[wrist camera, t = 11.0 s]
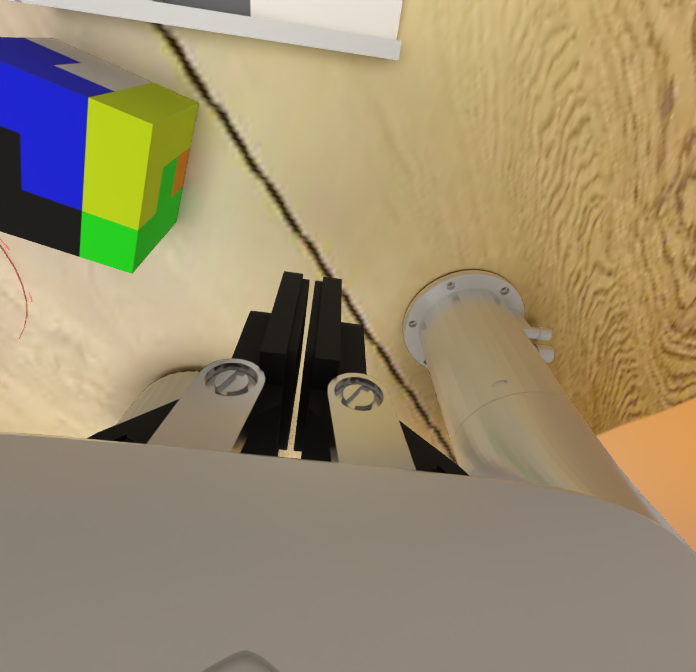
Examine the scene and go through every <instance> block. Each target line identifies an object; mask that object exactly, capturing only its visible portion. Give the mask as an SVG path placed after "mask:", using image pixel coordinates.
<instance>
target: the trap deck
mask: <svg viewBox="0 0 696 672" xmlns="http://www.w3.org/2000/svg"><path fill="white" fill-rule="evenodd" d="M9 1H15V2H23V3H29V4H36V5H42V6H49V7H55V8H62V9H68V10H75V11H81V12H87V13H94V14H100V15H107V16H113V17H120V18H126V19H133V20H139V21H146V22H152V23H159V24H165V25H172V26H178V27H185V28H191V29H198V30H204V31H211V32H217V33H224V34H230V35H237V36H243V37H249V38H256V39H262V40H269V41H275V42H282V43H288V44H295V45H301V46H308V47H314V48H321V49H327V50H334V51H340V52H347V53H353V54H360V55H366V56H373V57H379V58H386V59H392V60H399V55H400V49H401V43H402V41H399V40H397V33H398V27H399V21H400V14H401V8H402V2H403V0H9Z"/></svg>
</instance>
